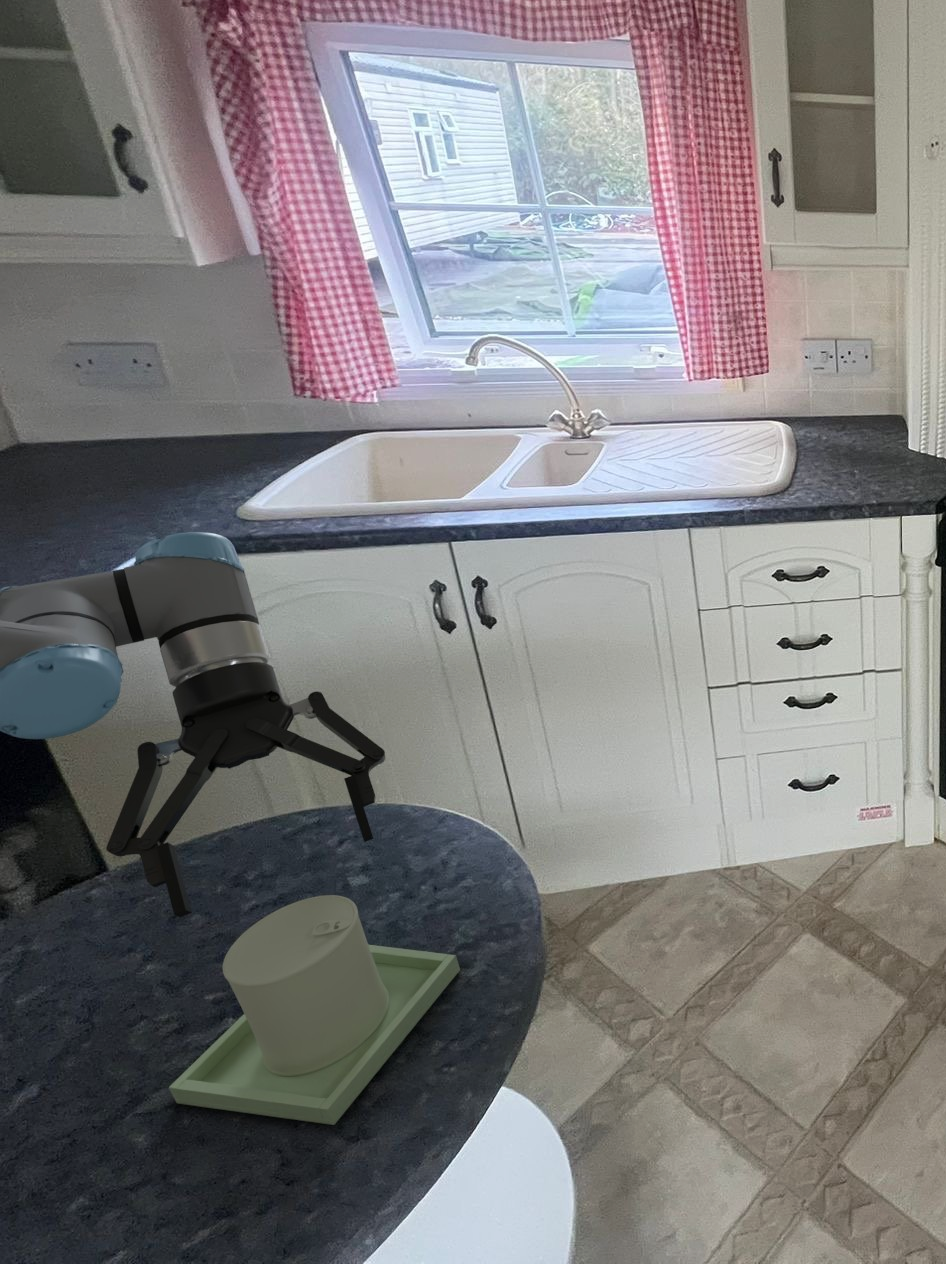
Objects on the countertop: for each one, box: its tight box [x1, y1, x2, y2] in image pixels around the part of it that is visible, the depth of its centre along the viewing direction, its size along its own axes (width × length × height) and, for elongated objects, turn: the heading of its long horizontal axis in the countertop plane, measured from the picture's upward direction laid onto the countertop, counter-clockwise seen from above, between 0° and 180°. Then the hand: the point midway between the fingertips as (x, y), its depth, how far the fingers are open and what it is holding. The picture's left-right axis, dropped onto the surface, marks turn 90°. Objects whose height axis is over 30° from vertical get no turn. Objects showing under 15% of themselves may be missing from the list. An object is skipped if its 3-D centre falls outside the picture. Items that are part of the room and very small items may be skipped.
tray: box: [168, 944, 461, 1126], centre depth 76 cm, size 15×15×2 cm
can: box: [222, 894, 389, 1076], centre depth 74 cm, size 9×9×12 cm
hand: (281, 874), depth 79 cm, fingers open, 13 cm apart
